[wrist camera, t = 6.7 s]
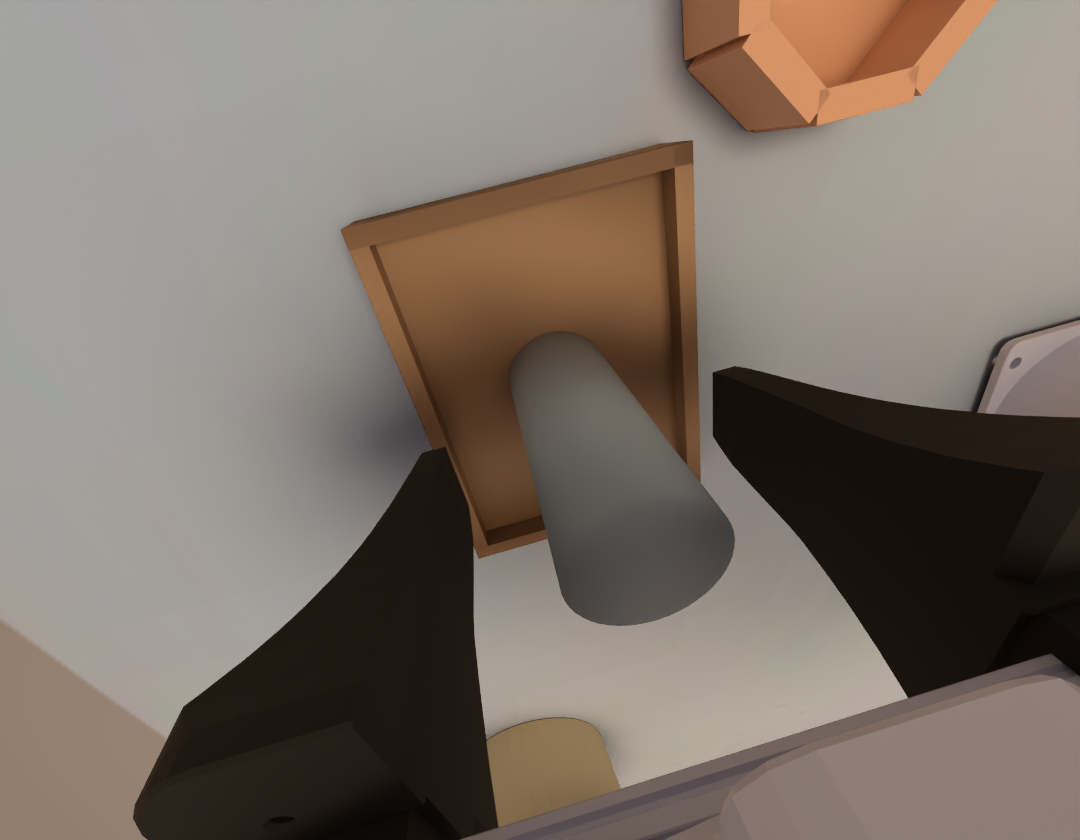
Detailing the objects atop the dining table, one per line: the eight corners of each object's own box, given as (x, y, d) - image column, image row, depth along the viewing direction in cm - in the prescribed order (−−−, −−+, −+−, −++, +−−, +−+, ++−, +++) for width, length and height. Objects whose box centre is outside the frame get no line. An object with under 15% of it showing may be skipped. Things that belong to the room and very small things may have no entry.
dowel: (606, 409, 16) (725, 603, 9) (517, 427, 15) (568, 641, 8) (601, 322, 14) (744, 478, 7) (501, 341, 14) (549, 520, 7)
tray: (680, 467, 19) (700, 494, 17) (476, 525, 18) (478, 558, 17) (663, 143, 13) (692, 140, 11) (354, 221, 12) (340, 230, 11)
